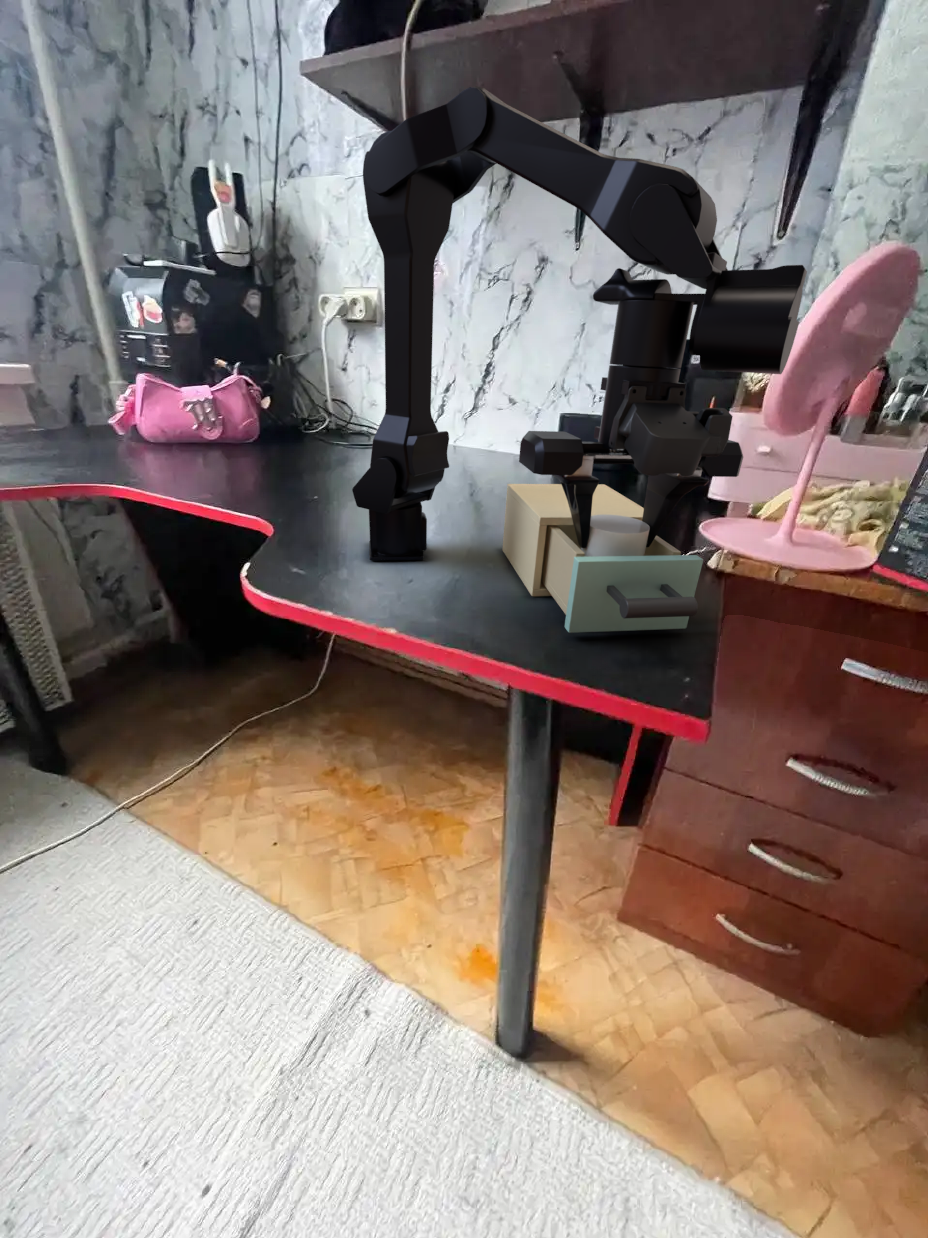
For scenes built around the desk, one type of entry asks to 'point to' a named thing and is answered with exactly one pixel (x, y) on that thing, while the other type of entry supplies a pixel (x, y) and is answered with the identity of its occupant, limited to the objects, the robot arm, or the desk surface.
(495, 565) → the desk surface
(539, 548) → the cabinet
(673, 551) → the drawer
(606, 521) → the cylinder
